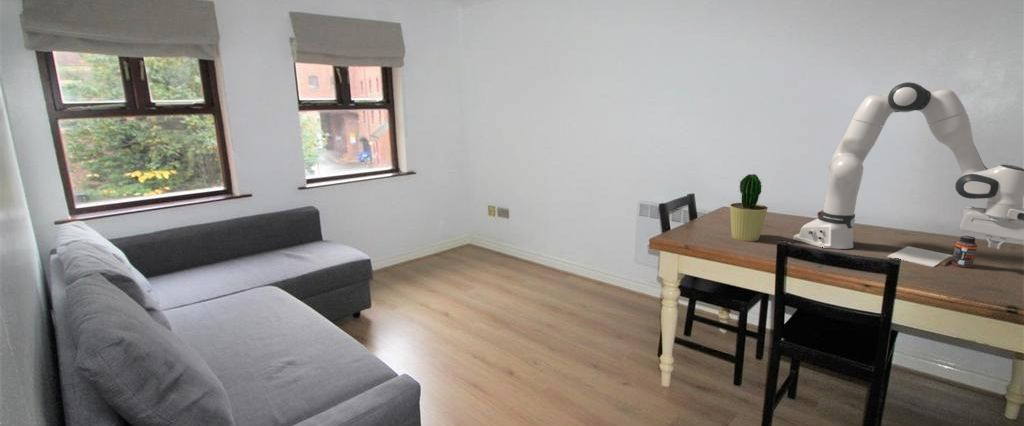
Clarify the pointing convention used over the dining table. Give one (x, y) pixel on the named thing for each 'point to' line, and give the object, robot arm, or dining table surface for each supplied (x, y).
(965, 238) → the supplement bottle
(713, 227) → the dining table surface
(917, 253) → the mat
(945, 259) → the strip
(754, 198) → the potted cactus
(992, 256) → the dining table surface
